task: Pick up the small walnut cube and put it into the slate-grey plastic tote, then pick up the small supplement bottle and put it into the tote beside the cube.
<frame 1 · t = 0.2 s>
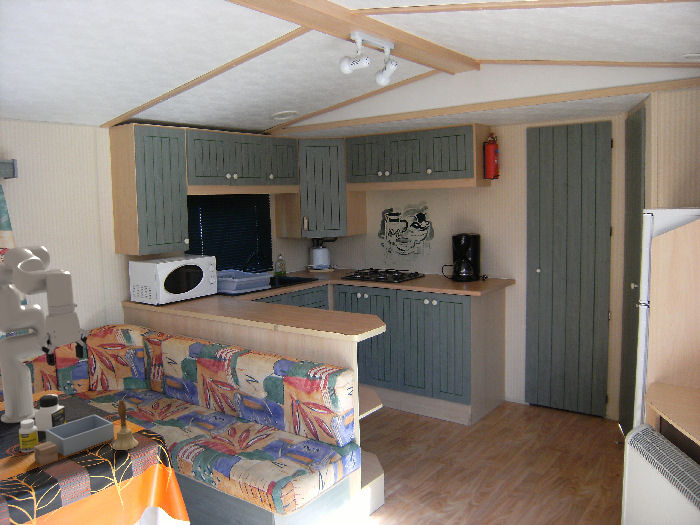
hand: (65, 361, 193), 30 cm above the table, tool pointing down, fingers open, 9 cm apart
tote: (80, 441, 203), on the table
medicine bottle: (51, 428, 216), on the table
hand bell: (125, 446, 200), on the table
supplement bottle: (29, 449, 198), on the table
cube: (46, 460, 190), on the table
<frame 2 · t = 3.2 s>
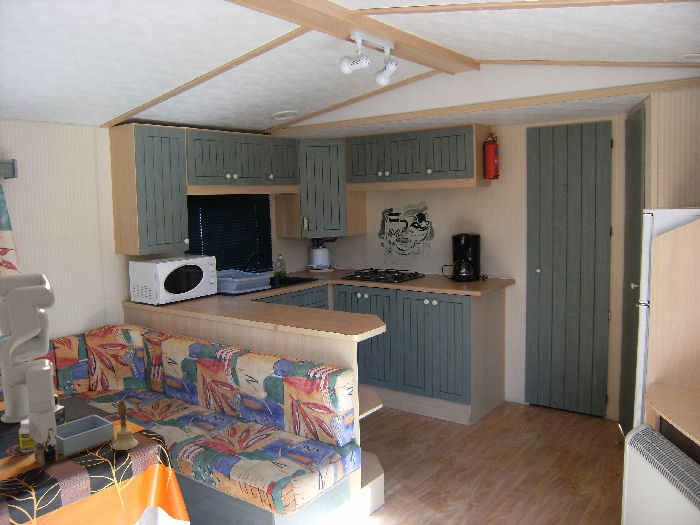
hand: (46, 458, 190), 1 cm above the table, tool pointing down, fingers closed on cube, 5 cm apart
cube: (46, 460, 190), on the table, touching gripper
everything else where it was.
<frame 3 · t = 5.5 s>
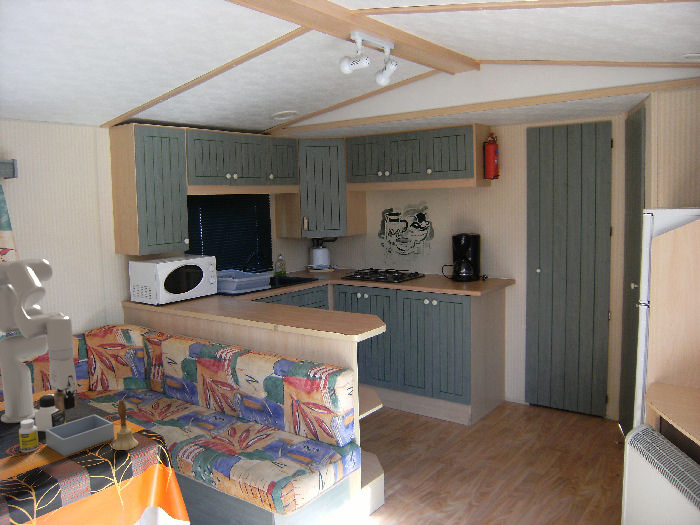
hand: (65, 405, 198), 14 cm above the table, tool pointing down, fingers closed on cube, 5 cm apart
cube: (66, 407, 198), point 14 cm above the table, touching gripper
everything else where it was.
when the fingers open (4 cm above the table, at t = 8.5 s): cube stays where it is, resting on tote.
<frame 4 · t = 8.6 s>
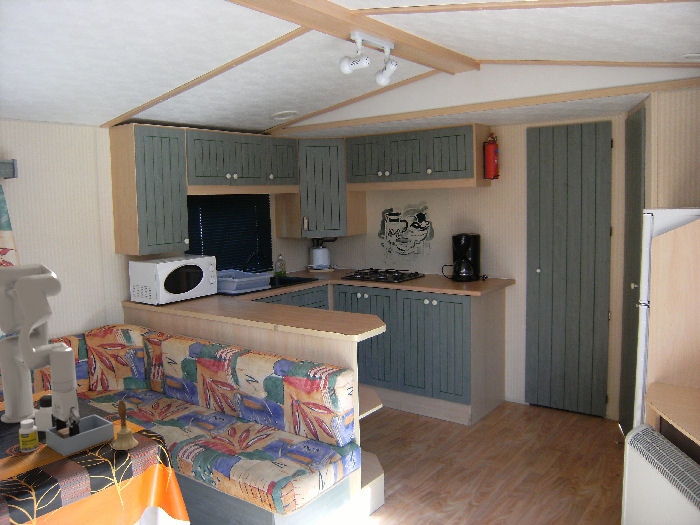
hand: (68, 433, 200), 4 cm above the table, tool pointing down, fingers open, 9 cm apart
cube: (69, 444, 200), resting on tote
everything else where it was.
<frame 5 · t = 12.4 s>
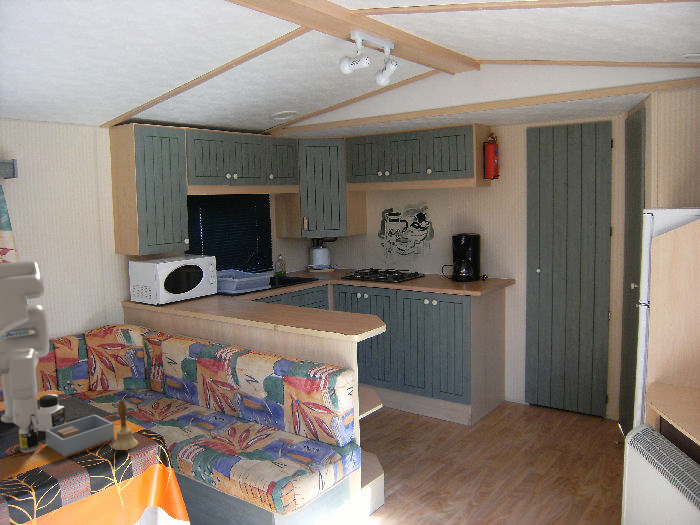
hand: (29, 443, 198), 2 cm above the table, tool pointing down, fingers closed on supplement bottle, 5 cm apart
supplement bottle: (29, 449, 198), on the table, touching gripper
everything else where it was.
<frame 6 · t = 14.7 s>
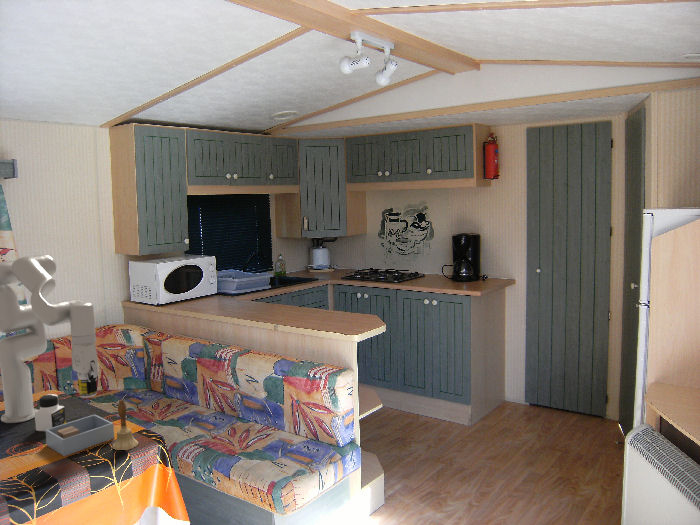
hand: (87, 389, 204), 17 cm above the table, tool pointing down, fingers closed on supplement bottle, 5 cm apart
supplement bottle: (88, 396, 204), point 15 cm above the table, touching gripper
everything else where it was.
when the fingers open (4 cm above the table, at t = 17.5 s): supplement bottle drops 2 cm, resting on tote.
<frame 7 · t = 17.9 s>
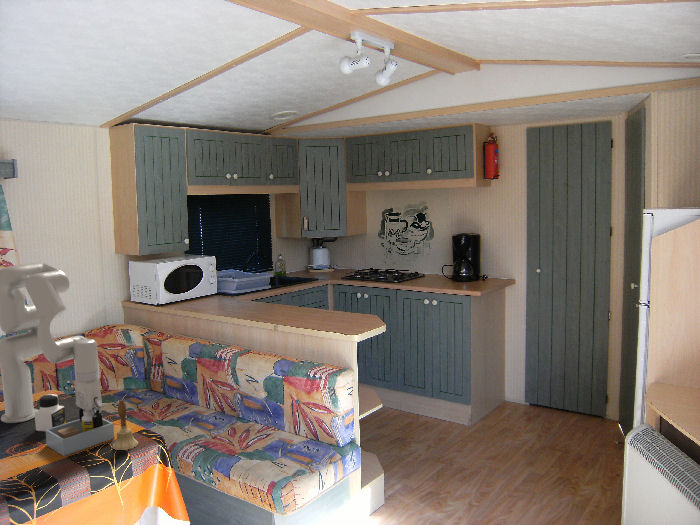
hand: (91, 423, 206), 5 cm above the table, tool pointing down, fingers open, 9 cm apart
supplement bottle: (91, 437, 206), resting on tote
everything else where it was.
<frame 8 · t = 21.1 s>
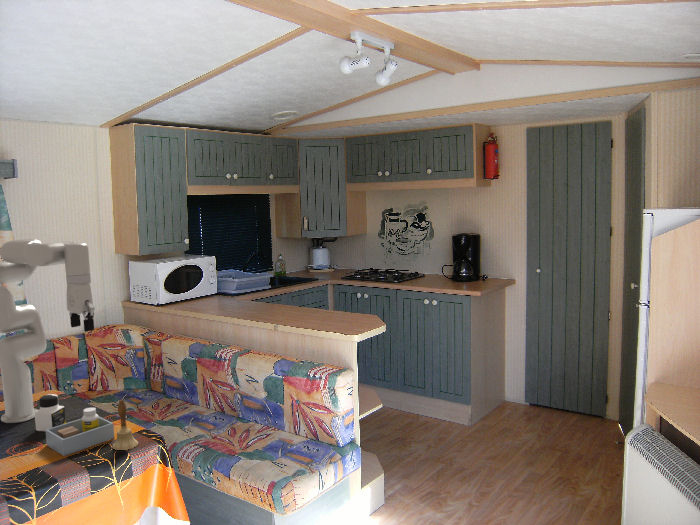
hand: (82, 328, 204), 38 cm above the table, tool pointing down, fingers open, 9 cm apart
nothing on the table moved.
at the end: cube inside the target area on the tote (4.0 cm from its centre), point 0.5 cm above the tote's base; supplement bottle inside the target area on the tote (3.9 cm from its centre), point 0.3 cm above the tote's base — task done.
